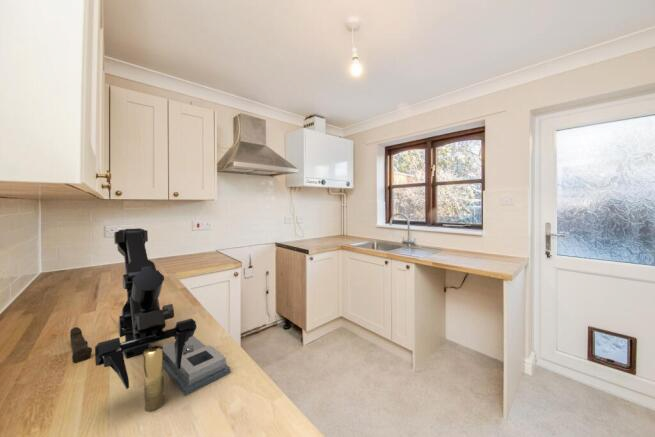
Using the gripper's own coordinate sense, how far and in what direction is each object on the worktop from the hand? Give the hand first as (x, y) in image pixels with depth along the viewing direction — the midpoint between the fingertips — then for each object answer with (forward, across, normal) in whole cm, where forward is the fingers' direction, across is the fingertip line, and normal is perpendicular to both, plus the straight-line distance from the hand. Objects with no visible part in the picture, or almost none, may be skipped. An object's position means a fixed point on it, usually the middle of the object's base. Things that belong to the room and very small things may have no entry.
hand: (154, 377), depth 54 cm
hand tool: (-25, -14, +36) cm, 46 cm away
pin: (+4, 0, +6) cm, 7 cm away
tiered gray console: (-3, +10, +13) cm, 17 cm away
